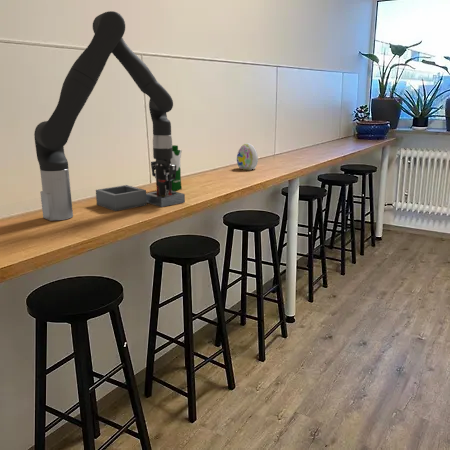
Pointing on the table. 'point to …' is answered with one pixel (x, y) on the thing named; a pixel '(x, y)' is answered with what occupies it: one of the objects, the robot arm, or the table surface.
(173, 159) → the milk carton
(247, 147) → the decorative egg
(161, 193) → the deodorant
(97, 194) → the bin
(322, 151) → the table surface
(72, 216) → the robot arm
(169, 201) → the socket collar
